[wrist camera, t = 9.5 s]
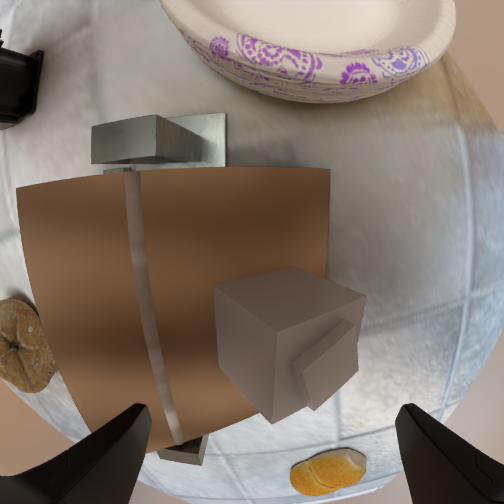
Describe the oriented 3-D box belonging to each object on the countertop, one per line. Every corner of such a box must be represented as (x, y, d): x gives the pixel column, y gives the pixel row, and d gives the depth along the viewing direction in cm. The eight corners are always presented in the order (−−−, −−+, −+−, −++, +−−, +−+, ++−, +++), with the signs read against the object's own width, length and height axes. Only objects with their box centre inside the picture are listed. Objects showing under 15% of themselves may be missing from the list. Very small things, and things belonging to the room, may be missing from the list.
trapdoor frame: (110, 129, 17) (35, 116, 9) (226, 114, 16) (195, 75, 9) (149, 395, 23) (119, 456, 15) (235, 405, 22) (225, 476, 15)
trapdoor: (39, 186, 12) (15, 188, 7) (275, 168, 20) (331, 169, 16) (96, 408, 16) (109, 462, 12) (272, 354, 25) (313, 386, 20)
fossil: (36, 409, 18) (-36, 347, 15) (41, 395, 22) (-23, 340, 18) (73, 344, 22) (0, 278, 19) (74, 337, 26) (10, 280, 22)
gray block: (219, 367, 15) (280, 433, 10) (213, 284, 13) (289, 340, 9) (290, 341, 17) (357, 386, 13) (294, 266, 16) (377, 300, 11)
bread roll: (276, 469, 26) (276, 495, 22) (338, 439, 24) (343, 468, 20) (318, 485, 27) (320, 508, 23) (374, 457, 25) (381, 481, 21)
